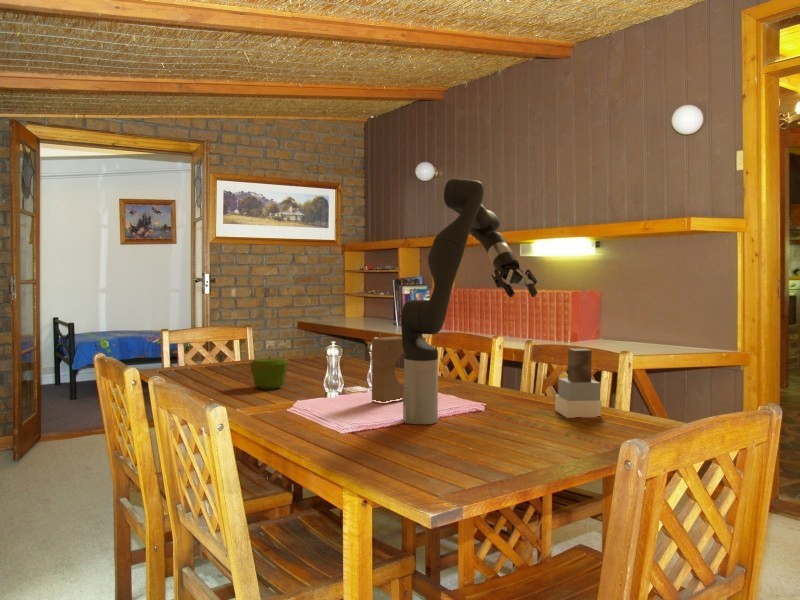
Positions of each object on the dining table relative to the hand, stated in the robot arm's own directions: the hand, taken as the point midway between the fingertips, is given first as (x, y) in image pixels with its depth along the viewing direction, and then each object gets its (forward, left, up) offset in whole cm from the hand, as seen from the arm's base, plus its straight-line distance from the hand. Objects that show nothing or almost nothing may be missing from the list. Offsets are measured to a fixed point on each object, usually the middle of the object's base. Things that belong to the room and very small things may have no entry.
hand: (523, 295), depth 211 cm
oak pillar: (+12, -18, -24) cm, 32 cm away
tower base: (+11, -18, -34) cm, 40 cm away
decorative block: (-41, +6, -34) cm, 54 cm away
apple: (-81, +33, -34) cm, 94 cm away
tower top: (+11, -18, -29) cm, 36 cm away
